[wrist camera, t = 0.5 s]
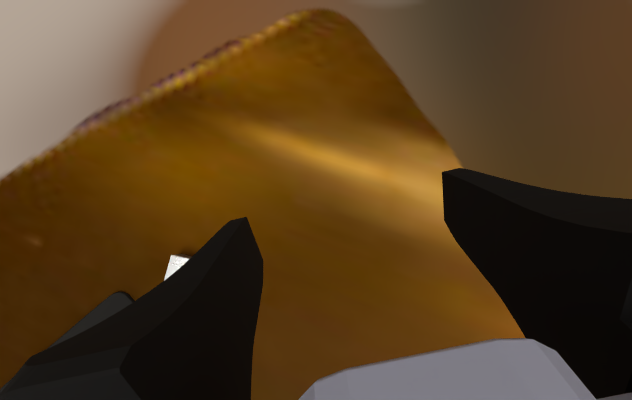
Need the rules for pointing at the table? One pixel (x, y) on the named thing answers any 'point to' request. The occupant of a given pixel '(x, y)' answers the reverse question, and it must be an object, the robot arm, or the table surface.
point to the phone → (96, 316)
